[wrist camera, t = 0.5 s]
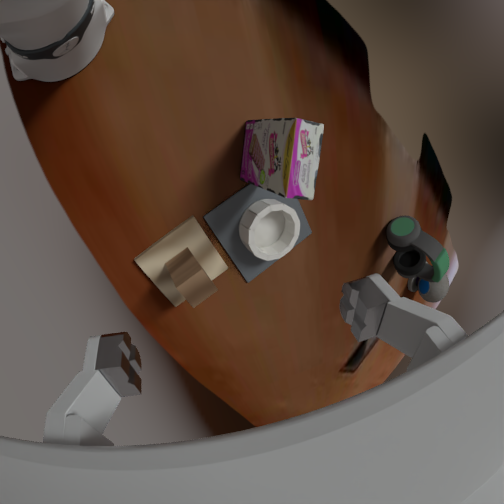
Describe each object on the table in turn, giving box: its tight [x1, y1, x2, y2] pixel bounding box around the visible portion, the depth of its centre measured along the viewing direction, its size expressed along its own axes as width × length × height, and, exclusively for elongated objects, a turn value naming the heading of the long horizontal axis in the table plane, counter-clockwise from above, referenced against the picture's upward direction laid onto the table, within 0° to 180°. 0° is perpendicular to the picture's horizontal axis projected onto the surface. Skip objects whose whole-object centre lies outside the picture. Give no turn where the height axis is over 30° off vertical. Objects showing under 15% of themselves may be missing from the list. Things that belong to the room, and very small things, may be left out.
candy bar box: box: [240, 118, 324, 200], centre depth 43 cm, size 11×5×16 cm, turn 172°
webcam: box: [408, 262, 449, 302], centre depth 92 cm, size 13×13×15 cm
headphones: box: [386, 216, 449, 283], centre depth 73 cm, size 19×11×20 cm, turn 35°
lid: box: [134, 215, 228, 308], centre depth 49 cm, size 13×13×10 cm
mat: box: [203, 184, 312, 282], centre depth 57 cm, size 18×18×1 cm
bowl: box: [239, 199, 300, 261], centre depth 55 cm, size 11×11×4 cm
